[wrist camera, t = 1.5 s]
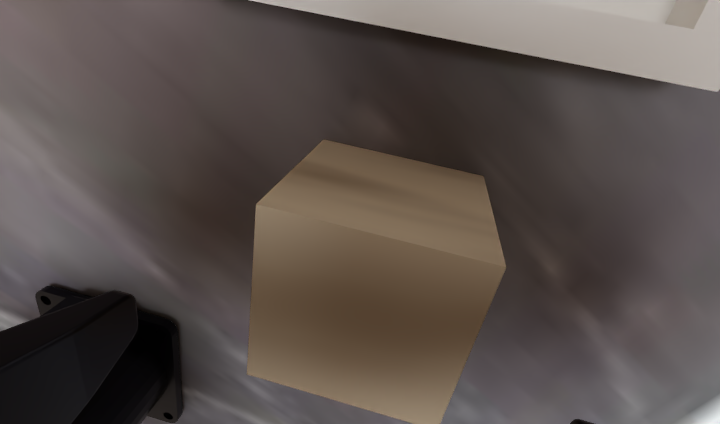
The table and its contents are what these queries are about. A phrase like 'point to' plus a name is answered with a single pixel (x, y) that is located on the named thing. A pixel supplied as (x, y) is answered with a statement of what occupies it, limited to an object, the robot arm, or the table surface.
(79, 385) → the robot arm
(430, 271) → the maple block
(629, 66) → the tray
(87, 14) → the table surface
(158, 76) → the table surface
